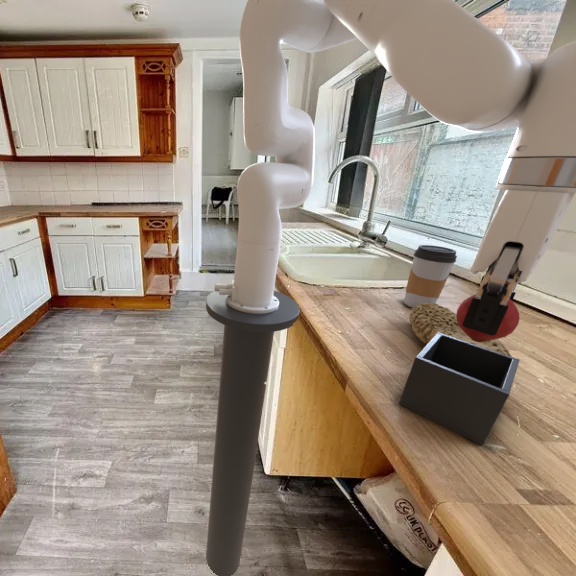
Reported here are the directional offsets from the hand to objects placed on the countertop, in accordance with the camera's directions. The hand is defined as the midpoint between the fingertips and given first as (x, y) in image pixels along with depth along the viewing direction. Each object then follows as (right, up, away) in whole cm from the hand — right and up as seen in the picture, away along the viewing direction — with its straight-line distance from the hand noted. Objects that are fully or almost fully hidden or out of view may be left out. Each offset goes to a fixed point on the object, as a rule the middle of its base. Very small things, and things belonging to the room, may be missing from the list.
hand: (483, 321), depth 40 cm
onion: (0, -3, +1) cm, 3 cm away
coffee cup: (+20, 0, +39) cm, 44 cm away
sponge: (+11, -8, +19) cm, 24 cm away
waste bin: (0, -13, +5) cm, 14 cm away
